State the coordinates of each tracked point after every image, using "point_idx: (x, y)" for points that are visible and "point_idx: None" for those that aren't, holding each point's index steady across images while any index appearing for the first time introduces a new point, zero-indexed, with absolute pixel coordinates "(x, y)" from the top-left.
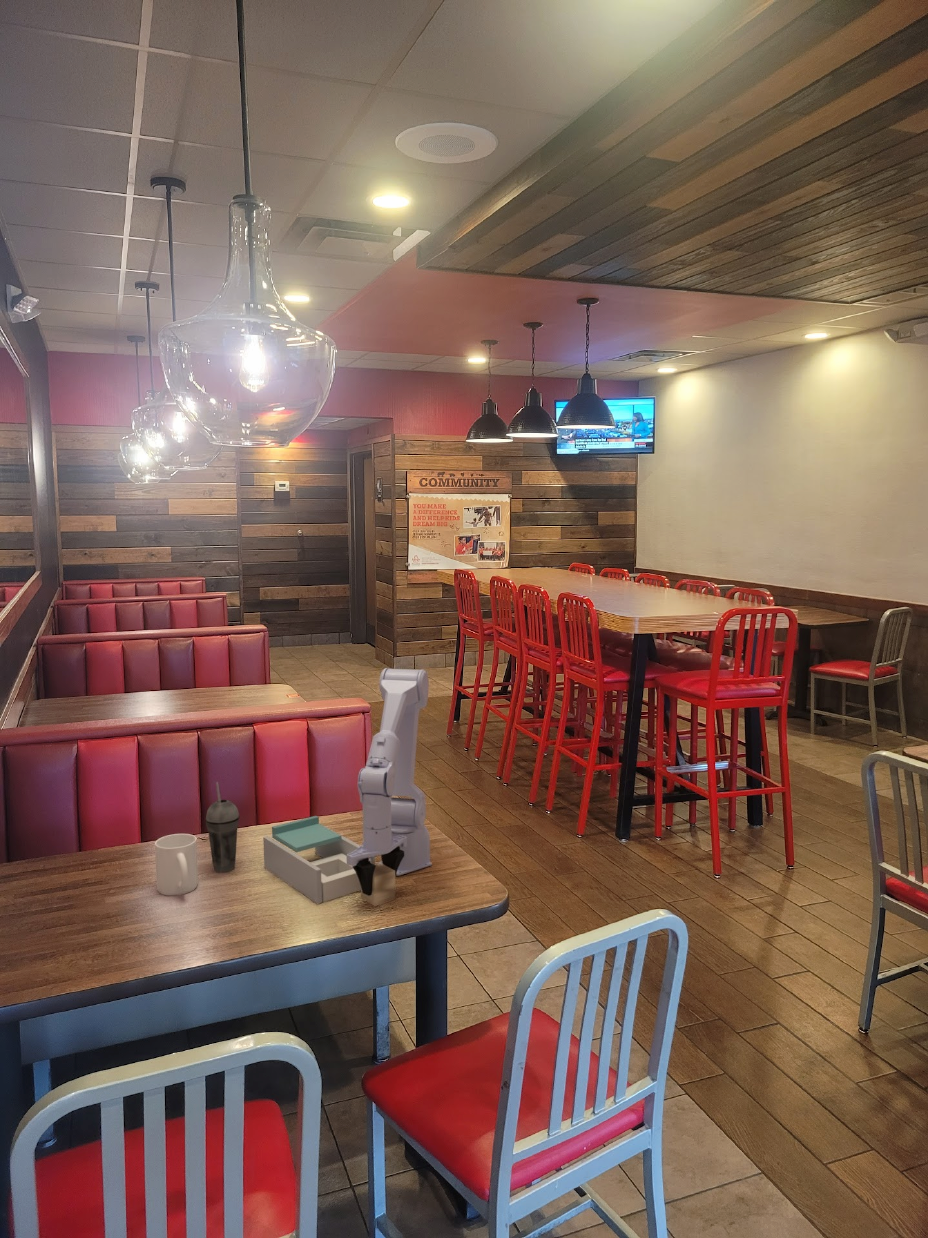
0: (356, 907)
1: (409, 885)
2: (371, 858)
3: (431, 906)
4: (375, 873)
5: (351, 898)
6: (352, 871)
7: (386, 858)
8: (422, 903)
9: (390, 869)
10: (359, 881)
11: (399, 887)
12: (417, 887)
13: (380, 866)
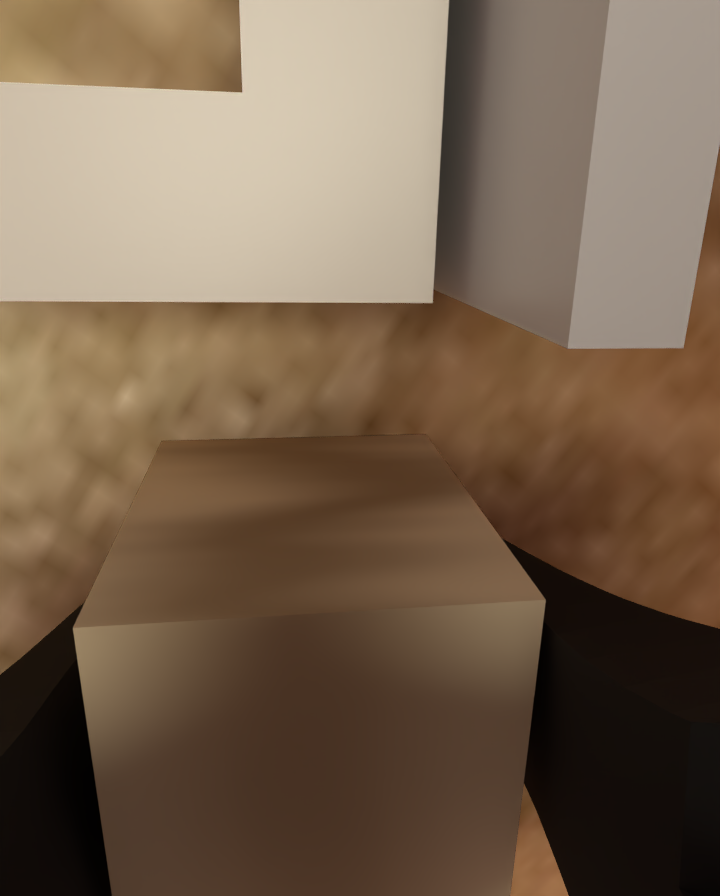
0: (11, 595)
1: (701, 491)
2: (544, 334)
3: (540, 877)
4: (214, 875)
5: (59, 388)
6: (134, 192)
7: (612, 819)
8: (527, 814)
9: (487, 867)
10: (13, 666)
11: (607, 471)
12: (715, 568)
13: (444, 709)
